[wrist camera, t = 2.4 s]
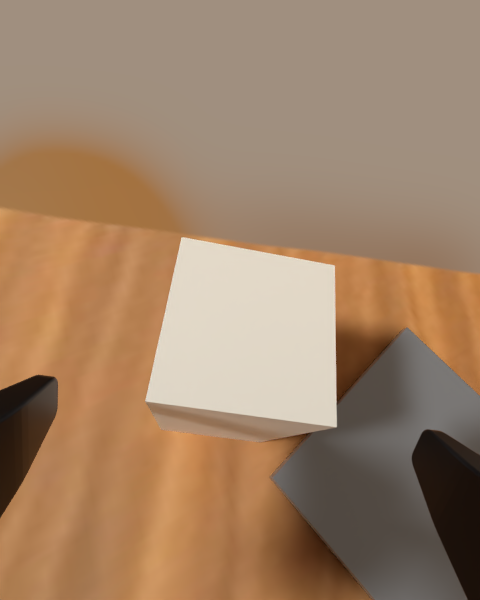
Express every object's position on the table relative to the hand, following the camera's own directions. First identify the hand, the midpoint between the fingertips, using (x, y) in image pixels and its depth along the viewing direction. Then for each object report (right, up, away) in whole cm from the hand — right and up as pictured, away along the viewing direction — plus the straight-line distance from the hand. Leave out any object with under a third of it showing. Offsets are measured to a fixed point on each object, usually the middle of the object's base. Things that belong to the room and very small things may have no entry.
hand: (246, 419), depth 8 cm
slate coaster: (+10, -7, +10) cm, 15 cm away
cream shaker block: (-1, -2, +10) cm, 10 cm away
